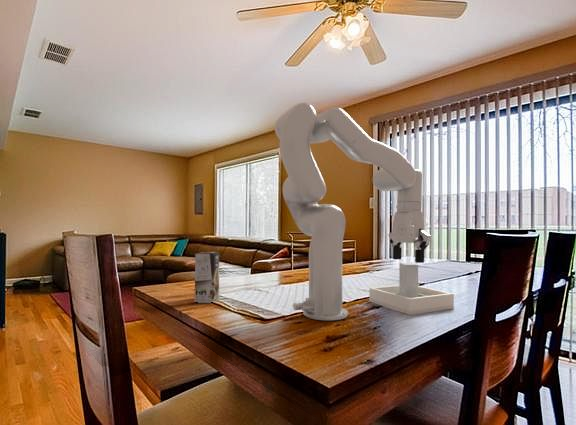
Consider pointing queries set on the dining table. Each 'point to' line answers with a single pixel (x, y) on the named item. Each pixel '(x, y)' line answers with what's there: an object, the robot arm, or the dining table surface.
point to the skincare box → (408, 280)
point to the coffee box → (206, 277)
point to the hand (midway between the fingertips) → (407, 260)
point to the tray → (412, 300)
